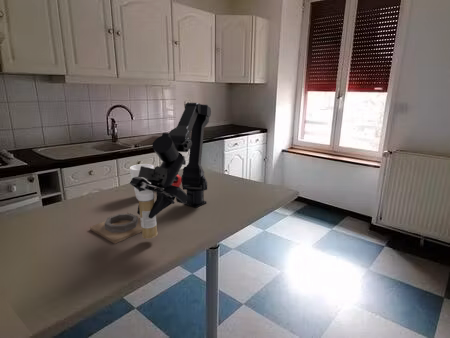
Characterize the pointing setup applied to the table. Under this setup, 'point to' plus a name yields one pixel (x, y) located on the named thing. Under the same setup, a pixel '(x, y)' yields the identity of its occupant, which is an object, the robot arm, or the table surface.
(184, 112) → the robot arm
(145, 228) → the sprinkles bottle
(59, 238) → the table surface
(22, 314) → the table surface
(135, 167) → the foam cup
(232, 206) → the table surface
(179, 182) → the pomegranate
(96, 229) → the collar plate
